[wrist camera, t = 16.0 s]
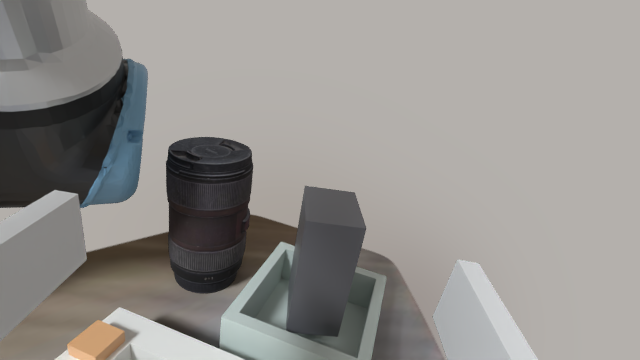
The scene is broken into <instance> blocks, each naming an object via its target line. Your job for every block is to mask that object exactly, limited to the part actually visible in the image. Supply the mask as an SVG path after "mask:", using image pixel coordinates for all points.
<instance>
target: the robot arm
mask: <svg viewBox="0 0 640 360" xmlns="http://www.w3.org/2000/svg"><path fill="white" fill-rule="evenodd" d="M147 80H148V73H147V69H146V67H145V66H144V65H142V64H140V63H136V62H134V61H133V60H131V59H123V58H122V49H121V46H120V42H119V40H118V37H117V35H116V34H115V32H114V31H113V29H112V28H111V27H110V26H109V25H108V24H107V23H106V22H104V21H103V20H102V19H101V18H99V17H98V16H97V15H95V14H94V13H92V12H91V11H89V10H88V8H87V3H86V0H0V208H8V207H9V208H11V207H25V208H23V209H21V210H20V211H18V212H17V213H15V214H13V215H11V216H9V217H8V218H6V219H4V220H3V221H1V222H0V341H1V340H2V339H3V338H4V337H5V336H6V335H8V334H9V333H10V332H11V331H12V330H13V329H14V328H15V327H16V326H17V325H18V324H19V323H20V322H21V321H22V320H23V319H25V318H26V317H27V316H28V315H29V314H30V313H31V312H32V311H33V310H34V309H35V308H36V307H37V306H38V305H39V304H40V303H41V302H43V301H44V300H45V299H46V298H47V297H48V296H49V295H50V294H51V293H52V292H53V291H54V290H55V289H56V288H57V287H58V286H60V285H61V284H62V283H63V282H64V281H65V280H66V279H67V278H68V277H69V276H70V275H71V274H72V273H73V272H74V271H75V270H76V269H78V268H79V267H80V266H81V265H82V264H83V263H84V262H85V261H86V260H87V256H86V249H85V241H84V234H83V227H82V219H81V212H80V208H84V207H87V206H88V205H95V204H108V203H119V202H123V201H125V200H127V199H128V198H130V197H131V196H132V195H133V194H134V193H135V191H136V189H137V186H138V180H139V173H140V163H141V154H142V140H143V139H142V136H143V129H144V121H145V109H146V96H147ZM433 319H434V322H435V325H436V328H437V331H438V334H439V336H440V339H441V343H442V345H443V348H444V351H445V354H446V357H447V360H538V359H537V358H536V356H535V354H534V352H533V351H532V350H531V348H530V346H529V344H528V343H527V341H526V339H525V338H524V336H523V335H522V333H521V331H520V330H519V328H518V327H517V325H516V323H515V322H514V320H513V318H512V317H511V315H510V313H509V312H508V310H507V309H506V307H505V305H504V304H503V302H502V300H501V299H500V297H499V296H498V294H497V292H496V291H495V289H494V287H493V286H492V284H491V283H490V281H489V279H488V278H487V276H486V274H485V273H484V271H483V270H482V268H481V267H480V265H479V263H474V262H469V261H463V260H457V262H456V264H455V266H454V269H453V271H452V273H451V275H450V278H449V280H448V282H447V285H446V287H445V289H444V292H443V294H442V297H441V299H440V301H439V303H438V305H437V308H436V310H435V312H434V315H433Z"/></svg>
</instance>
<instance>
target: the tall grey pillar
mask: <svg viewBox="0 0 640 360" xmlns="http://www.w3.org/2000/svg"><path fill="white" fill-rule="evenodd" d="M365 231H366V226H365V223H364V220H363V217H362V214H361V211H360V208H359V204H358V201H357V198H356V195H355V193H354V192H346V191H339V190H331V189H324V188H317V187H309V186H305V189H304V195H303V201H302V207H301V213H300V219H299V225H298V231H297V237H296V242H295V248H294V254H293V260H292V266H291V272H290V278H289V285H288V303H287V321H286V331H288V332H291V333H299V334H310V335H322V336H334V337H338V335H339V331H340V327H341V323H342V319H343V316H344V312H345V308H346V304H347V300H348V296H349V293H350V289H351V285H352V281H353V277H354V273H355V270H356V266H357V262H358V258H359V254H360V250H361V247H362V243H363V239H364V235H365Z"/></svg>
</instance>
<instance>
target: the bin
mask: <svg viewBox="0 0 640 360" xmlns="http://www.w3.org/2000/svg"><path fill="white" fill-rule="evenodd" d="M294 248H295V246H293V245H290V244H287V243H284V242H280V244H279V245H278V246H277V247H276V249H275V250H274V251H273V252H272V254H271V255H270V256H269V257H268V259H267V260H266V261H265V262H264V264H263V265H262V266H261V267H260V269H259V270H258V271H257V273H256V274H255V275H254V276H253V278H252V279H251V280H250V281H249V283H248V284H247V285H246V286H245V288H244V289H243V290H242V291H241V293H240V294H239V295H238V296H237V298H236V299H235V300H234V302H233V303H232V304H231V305H230V307H229V308H228V309H227V310H226V312H225V313H224V314H223V315H222V317H221V330H220V344H219V349H221V350H223V351H226V352H228V353H230V354H233V355H235V356H238V357H240V358H242V359H245V360H371V358H372V353H373V347H374V342H375V337H376V332H377V326H378V321H379V316H380V310H381V305H382V300H383V295H384V289H385V284H386V279H387V276H384V275H381V274H378V273H375V272H372V271H369V270H366V269H363V268H360V267H357V266H356V270H355V273H354V277H353V281H352V285H351V289H350V293H349V296H348V300H347V304H346V308H345V312H344V316H343V319H342V323H341V327H340V331H339V335H338V337H334V336H322V335H310V334H299V333H291V332H288V331H286V321H287V303H288V285H289V278H290V272H291V266H292V260H293V254H294Z"/></svg>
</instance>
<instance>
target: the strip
mask: <svg viewBox="0 0 640 360" xmlns="http://www.w3.org/2000/svg"><path fill="white" fill-rule="evenodd" d="M67 347H68V349H67V350H66V351H65V352H64V353H62V354H61V355H60V356H59V357H57V358H56V359H55V360H245V359H242V358H240V357H238V356H235V355H233V354H230V353H228V352H226V351H223V350H221V349H218V348H216V347H214V346H211V345H209V344H206V343H204V342H202V341H199V340H197V339H195V338H192V337H190V336H187V335H185V334H183V333H180V332H178V331H175V330H173V329H171V328H168V327H166V326H163V325H161V324H159V323H156V322H154V321H152V320H149V319H147V318H144V317H142V316H140V315H137V314H135V313H132V312H130V311H128V310H125V309H123V308H120V307H119V308H118V309H116V310H115V311H114V312H113V313H112V314H110V315H109V316H108V317H107V318H105V319H104V320H103V321H100V320H97V321H96V322H95V323H93V324H92V325H91V326H90V327H88V328H87V329H86V330H85V331H83V332H82V333H81V334H80V335H78V336H77V337H76V338H75V339H73V340H72V341H71V342H70V343H68V344H67Z"/></svg>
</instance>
